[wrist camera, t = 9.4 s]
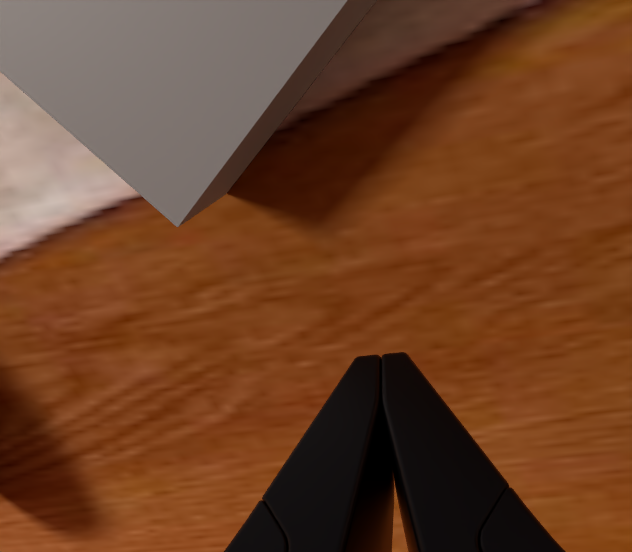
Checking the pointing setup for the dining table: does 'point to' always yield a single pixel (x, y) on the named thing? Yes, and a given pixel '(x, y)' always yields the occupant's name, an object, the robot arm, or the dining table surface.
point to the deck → (172, 81)
